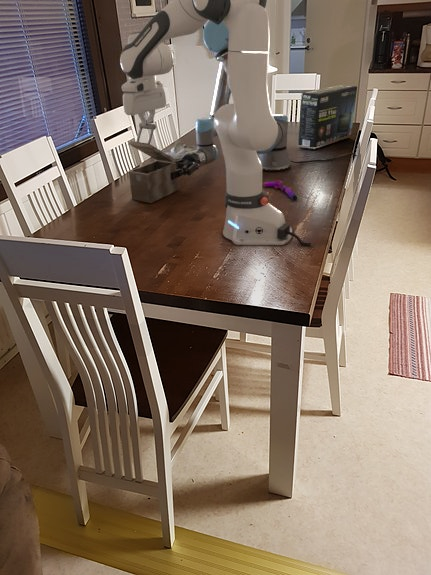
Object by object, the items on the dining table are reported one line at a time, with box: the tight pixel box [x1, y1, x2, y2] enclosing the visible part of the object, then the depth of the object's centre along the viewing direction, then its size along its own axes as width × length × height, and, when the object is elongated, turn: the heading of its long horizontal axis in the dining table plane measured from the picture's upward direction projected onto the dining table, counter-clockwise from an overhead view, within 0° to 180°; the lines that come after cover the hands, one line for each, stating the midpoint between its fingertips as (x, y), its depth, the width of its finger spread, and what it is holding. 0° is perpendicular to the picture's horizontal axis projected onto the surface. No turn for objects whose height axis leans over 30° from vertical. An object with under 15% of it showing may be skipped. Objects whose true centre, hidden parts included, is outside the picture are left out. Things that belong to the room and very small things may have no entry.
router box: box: [297, 84, 358, 151], centre depth 238 cm, size 36×11×27 cm, turn 134°
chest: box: [128, 160, 179, 204], centre depth 182 cm, size 17×10×11 cm, turn 147°
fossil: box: [161, 142, 197, 161], centre depth 229 cm, size 18×11×15 cm
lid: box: [128, 122, 176, 163], centre depth 177 cm, size 18×10×9 cm
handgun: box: [262, 180, 298, 201], centre depth 180 cm, size 21×8×2 cm, turn 11°
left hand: (147, 124), depth 171 cm, fingers closed
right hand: (161, 174), depth 184 cm, fingers closed on chest, 10 cm apart
